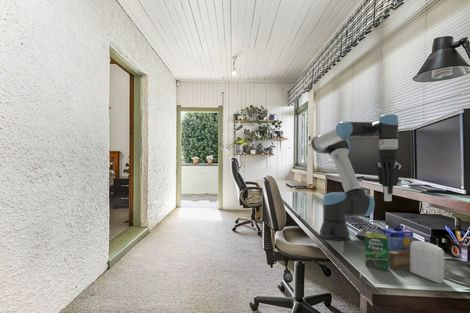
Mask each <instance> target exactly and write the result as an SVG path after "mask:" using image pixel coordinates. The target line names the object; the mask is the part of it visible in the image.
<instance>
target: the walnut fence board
mask: <svg viewBox="0 0 470 313" xmlns="http://www.w3.org/2000/svg"><path fill="white" fill-rule="evenodd" d="M389 268H390V269H392V270H394V271H396V270H400V269H406V268H410V249H405V250H398V251H391V252H389Z"/></svg>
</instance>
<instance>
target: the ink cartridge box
mask: <svg viewBox="0 0 470 313" xmlns="http://www.w3.org/2000/svg"><path fill="white" fill-rule="evenodd" d="M404 226H405V225H400V224H399V225H395V226H394V228H391V227H390V228H383V229H382V234H387V235H388V256H389V252H391V251H398V250H405V249H410V246H411V243H412V241H413V239H412V238H413V232H412V231H411V230H409V229H406V228H404Z"/></svg>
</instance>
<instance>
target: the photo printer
mask: <svg viewBox="0 0 470 313" xmlns="http://www.w3.org/2000/svg"><path fill="white" fill-rule="evenodd" d="M409 272H410V273H413V274H415V275H416V276H420V277H422V278H425V279H427V280H428V281H432V282H435V283H437V284H443V283H444V281H445V251H444V249H443V248H441V247H439V246H438V245H435V244H434V243H430V242H427V241H423V240H412V243H411V246H410V267H409Z"/></svg>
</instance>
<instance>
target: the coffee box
mask: <svg viewBox="0 0 470 313" xmlns="http://www.w3.org/2000/svg"><path fill="white" fill-rule="evenodd" d="M364 252H365V253H364V257H365V258H364V260H365V266H367V267H371V268H375V269H379V270H383V271H389V268H390V267H389V256H388V235H387V234H383V233H378V232H371V231H365V232H364Z"/></svg>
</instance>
